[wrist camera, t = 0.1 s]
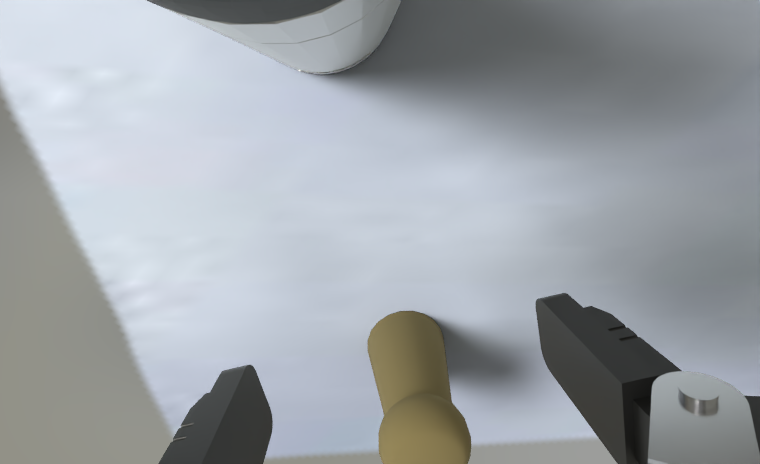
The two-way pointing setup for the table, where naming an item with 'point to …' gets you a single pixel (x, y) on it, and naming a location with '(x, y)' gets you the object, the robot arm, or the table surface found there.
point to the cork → (415, 393)
